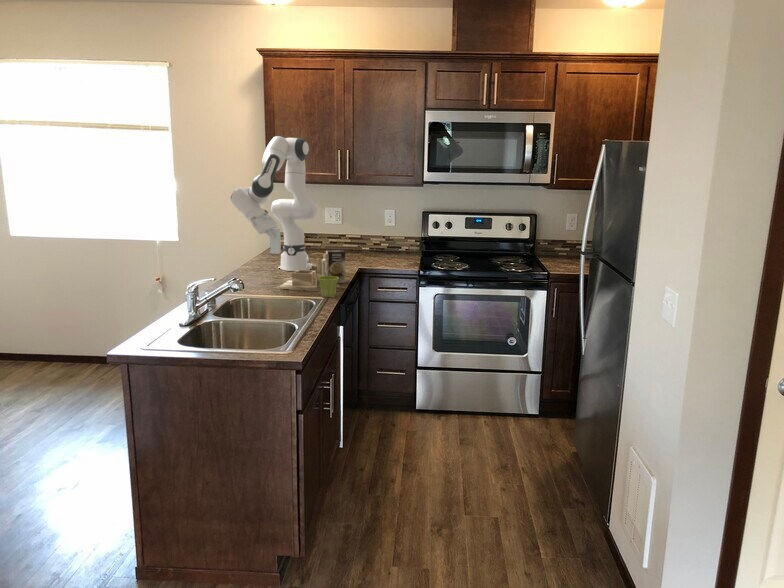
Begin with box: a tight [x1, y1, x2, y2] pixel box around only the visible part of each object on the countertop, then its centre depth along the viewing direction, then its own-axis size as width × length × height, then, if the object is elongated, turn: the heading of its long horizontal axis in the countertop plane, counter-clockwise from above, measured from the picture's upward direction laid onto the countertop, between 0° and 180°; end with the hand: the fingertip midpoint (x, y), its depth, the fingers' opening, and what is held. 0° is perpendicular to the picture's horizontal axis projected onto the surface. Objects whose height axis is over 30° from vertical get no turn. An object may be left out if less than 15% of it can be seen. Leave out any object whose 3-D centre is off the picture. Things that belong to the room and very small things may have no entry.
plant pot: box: [318, 276, 339, 298], centre depth 281 cm, size 9×9×9 cm
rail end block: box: [269, 227, 282, 255], centre depth 302 cm, size 4×4×12 cm
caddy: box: [279, 253, 328, 292], centre depth 299 cm, size 16×20×16 cm
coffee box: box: [325, 249, 346, 284], centre depth 312 cm, size 9×6×16 cm
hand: (276, 237), depth 301 cm, fingers closed on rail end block, 4 cm apart
